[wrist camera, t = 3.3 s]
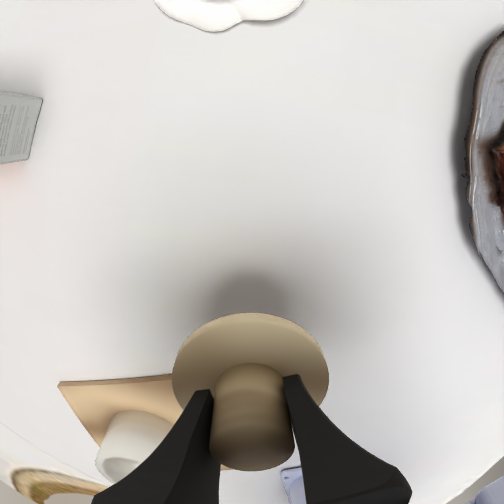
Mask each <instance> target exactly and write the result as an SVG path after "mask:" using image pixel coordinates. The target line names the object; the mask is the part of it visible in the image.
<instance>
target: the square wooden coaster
mask: <svg viewBox="0 0 504 504" xmlns="http://www.w3.org/2000/svg"><path fill="white" fill-rule="evenodd" d="M57 387H58V388H59V390H60V392H61V393H62V395H63V396H64V398H65V399H66V401H67V402H68V404H69V405H70V407H71V408H72V410H73V411H74V413H75V414H76V416H77V417H78V419H79V420H80V422H81V423H82V424H83V426H84V427H85V428H86V430H87V431H88V433H89V434H90V435H91V437H92V438H93V439H94V441H95V442H96V443H97V444H98V446H99V447H100V446H101V444H102V441H103V439H104V436H105V434H106V432H107V429H108V427H109V424H110V422H111V419H112V418H113V416H114V415H116V414H117V413H119V412H122V411H127V410H137V411H144V412H148V413H151V414H154V415H157V416H159V417H161V418H163V419H165V420H166V421H168V422H170V423H171V424H172V425H173V426H174V424H175V423H176V421H177V420H178V418H179V417H180V415H181V414H182V412H183V409H182V408H181V406H180V405H179V403H178V401H177V400H176V397H175V395H174V392H173V388H172V374H169V375H160V376H151V377H140V378H128V379H115V380H99V381H78V382H60V383H59V384H58V386H57ZM231 469H232V468H229V467H226V466H224V465H222V464H221V469H220V470H231Z"/></svg>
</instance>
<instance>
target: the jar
mask: <svg viewBox="0 0 504 504" xmlns="http://www.w3.org/2000/svg"><path fill="white" fill-rule="evenodd" d="M172 427H173V425H172V424H171V423H170V422H168V421H166V420H165V419H163V418H161V417H159V416H157V415H154V414H151V413H148V412H144V411H137V410H127V411H122V412H119V413H117V414H116V415H114V416H113V418H112V419H111V422H110V424H109V427H108V429H107V432H106V434H105V436H104V439H103V441H102V444H101V446H100V449H99V452H98V454H97V457H96V459H95V465H96V467H97V469H98V471H99V472H100V473H101V474H102V475H103V476H104V477H105V478H106V479H108V480H109V481H110V482H112V483H114V484H115V483H117V482H118V481H120V480H121V479H123V478H124V477H125V476H127V475H128V474H129V473H131V472H132V471H133V470H134V469H135V468H137V467H138V466H139V465H140V464H141V463H142V462H143V461H144V460H145V459H147V458H148V457H149V456H150V454H151V453H152V452H153V451H154V450H155V449H156V448H157V447H158V446H159V444H160V443H161V442H162V441H163V439H164V438H165V437H166V435H167V434H168V433H169V431H170V430H171V429H172Z"/></svg>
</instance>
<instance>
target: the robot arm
mask: <svg viewBox="0 0 504 504" xmlns="http://www.w3.org/2000/svg"><path fill="white" fill-rule="evenodd" d="M282 379H283V388H284V393H285V397H286V401H287V406H288V410H289V413H290V418H291V423H292V428H293V432H294V435H295V439H296V443H297V446H298V450H299V454H300V461H301V468H295V469H289V470H284V471H282V472H281V478H282V481H283V484H284V487H285V490H286V493H287V495H288V498H289V501H290V504H408V503H409V501H410V498H411V495H412V490H411V487H410V485H409V483H408V482H407V480H406V479H405V477H404V476H403V475H402V473H401V472H400V471H399V470H398V469H397V468H396V467H394V466H392V465H390V464H388V463H386V462H384V461H383V460H381V459H379V458H377V457H376V456H374V455H372V454H371V453H369V452H367V451H366V450H365V449H363V448H362V447H360V446H359V445H358V444H356V443H355V442H354V441H352V440H351V439H350V438H349V437H347V436H346V435H345V434H344V433H343V432H342V431H341V430H340V429H338V428H337V427H336V426H335V425H334V424H333V423H332V422H331V420H330V419H329V418H328V417H327V416H326V415H325V414H324V413H323V411H322V410H321V409H320V408H319V406H318V405H317V404H316V402H315V401H314V400H313V398H312V397H311V395H310V394H309V392H308V391H307V389H306V387H305V386H304V384H303V382H302V379H301V376H300V375H298V374H295V375H290V376H285V377H282ZM213 405H214V398H213V396H212V394H211V391H210V389H205V390H197V391H195V392H194V394H193V395H192V397H191V399H190V400H189V402H188V404H187V405H186V407H185V409H184V410H183V412H182V414H181V415H180V417H179V418H178V420H177V421H176V423H175V424H174V426H173V427H172V429H171V430H170V431H169V433H168V434H167V435H166V437H165V438H164V439H163V441H162V442H161V443H160V444H159V446H158V447H157V448H156V449H155V450H154V451H153V452H152V453H151V454H150V456H149V457H148V458H147V459H145V460H144V461H143V462H142V463H141V464H140V465H139V466H138V467H137V468H135V469H134V470H133V471H132V472H131V473H129V474H128V475H127V476H125V477H124V478H123V479H121V480H120V481H118V482H117V483H115V484H114V485H112V486H111V487H109V488H107V489H105V490H104V491H102V492H100V493H98V494H96V495H94V498H93V500H92V503H91V504H219V478H220V469H221V464H220V463H219V462H217V461H216V460H215V459H214V458H213V457H212V455H211V453H210V450H209V444H210V434H211V424H212V414H213ZM466 504H504V476H502V477H501V478H499V479H497V480H496V481H494V482H492V483H490V484H489V485H487V486H486V487H484V488H483V489H482V490H480V491H479V493H478V494H477V495H476V497H475V499H473V500H471V501H470V502H468V503H466Z"/></svg>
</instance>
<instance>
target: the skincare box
mask: <svg viewBox="0 0 504 504" xmlns="http://www.w3.org/2000/svg"><path fill="white" fill-rule="evenodd" d="M41 104H42V99H41V98H37V97H32V96H27V95H22V94H16V93H9V92H1V91H0V164H6V163H11V162H17V161H23V160H27V159H28V157H29V153H30V148H31V143H32V139H33V134H34V130H35V126H36V122H37V118H38V115H39V111H40V107H41Z"/></svg>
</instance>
